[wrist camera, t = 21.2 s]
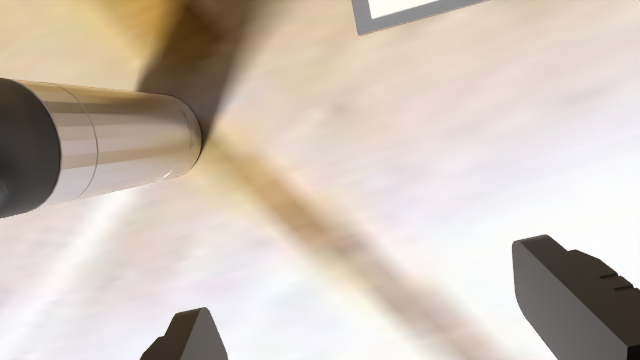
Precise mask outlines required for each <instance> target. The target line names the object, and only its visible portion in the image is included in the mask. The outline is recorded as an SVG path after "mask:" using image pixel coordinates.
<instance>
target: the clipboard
mask: <svg viewBox="0 0 640 360" xmlns="http://www.w3.org/2000/svg"><path fill="white" fill-rule="evenodd" d="M485 1H489V0H352V6H353V11H354V16H355V21H356V27H357V32H358V35H359V36H361V35H365V34H369V33H372V32H376V31H380V30H383V29H387V28H390V27H394V26H398V25H401V24H405V23H409V22H412V21H416V20H420V19H423V18H427V17H431V16H434V15H438V14H442V13H445V12H449V11H452V10H456V9H460V8H463V7H467V6H471V5H474V4H478V3H482V2H485Z"/></svg>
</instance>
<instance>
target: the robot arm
mask: <svg viewBox="0 0 640 360" xmlns="http://www.w3.org/2000/svg"><path fill="white" fill-rule="evenodd" d="M201 140H202V137H201V130H200V126H199V123H198V120H197V118H196V117H195V115H194V113H193V111H192V110H191V109H190V108H189V107H188V106H187V105H186V104H185V103H184V102H182V101H181V100H179V99H177V98H175V97H173V96H168V95H162V94H152V93H143V92H134V91H124V90H114V89H104V88H94V87H84V86H74V85H64V84H54V83H44V82H32V81H23V80H13V79H4V78H0V218H5V217H9V216H13V215H17V214H22V213H26V212H30V211H34V210H39V209H43V208H47V207H52V206H56V205H60V204H64V203H68V202H72V201H76V200H81V199H85V198H89V197H93V196H98V195H102V194H106V193H111V192H115V191H119V190H123V189H128V188H132V187H136V186H141V185H145V184H149V183H154V182H158V181H162V180H167V179H171V178H175V177H178V176H181V175H183V174H185V173H186V172H187V171H189V170H190V169H191V168H192V166H193V165H194V164H195V163H196V160H197V158H198V156H199V153H200V149H201ZM512 258H513V271H514V285H515V294H516V299H517V302H518V304H519V307H520V309H521V311H522V313H523V315H524V316H525V318H526V319H527V320H528V322H529V323H530V324H531V325H532V327H533V328H534V329H535V331H536V332H537V333H538V334H539V336H540V337H541V338H542V340H543V341H544V342H545V344H546V345H547V346H548V347H549V349H550V350H551V351H552V353H553V354H554V355H555V356H556V358H557V359H558V360H640V290H639V289H638V288H634V287H633V284H631V283H630V282H629V281H627V280H626V279H625V278H623V277H622V276H618V274H617V272H615V271H614V270H613V269H612V268H610V267H609V266H608V265H606V264H605V263H604V262H602V261H601V260H600V259H598V258H595V257H593V256H590V255H588V254H585V253H583V252H581V251H578V250H576V249H575V250H570V251H567V250H566V249H564V248H563V247H562V246H561V245H560V244H558V243H557V242H556V241H555V240H554V239H552V238H551V237H550V236H548V235H540V236H535V237H531V238H526V239H521V240H517V241H514V242H513V244H512ZM140 360H228V357H227V352H226V350H225V347H224V345H223V342H222V340H221V337H220V335H219V333H218V330H217V328H216V325H215V323H214V320H213V318H212V316H211V313H210V311H209V310H208V309H207V308H206V307H203V308H198V309H193V310H189V311H184V312H180V313H176V314H175V315H174V317H173V319H172V321H171V323H170V325H169V327H168V329H167V331H166V333H165V335H164V336H162V337H158V338H157V339H156V340H155V341H154V342H153V344H152V345H151V346H150V347H149V348H148V349H147V350H146V351H145V352H144V353H143V354H142V356H141V358H140Z"/></svg>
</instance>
